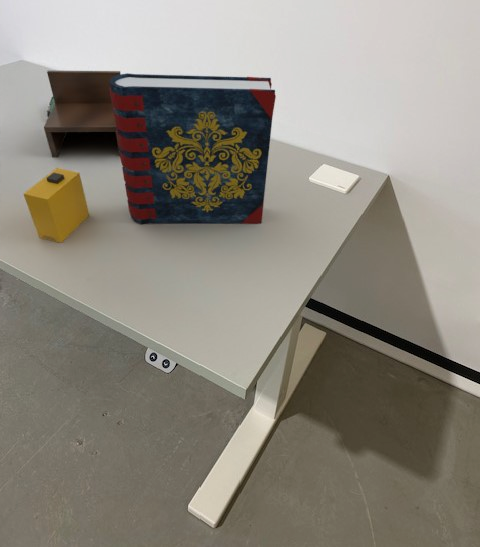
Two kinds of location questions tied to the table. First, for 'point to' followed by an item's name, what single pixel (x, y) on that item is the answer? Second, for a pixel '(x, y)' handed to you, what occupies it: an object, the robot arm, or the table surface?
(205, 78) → the book
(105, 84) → the shelf
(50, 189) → the tape measure
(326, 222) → the table surface
